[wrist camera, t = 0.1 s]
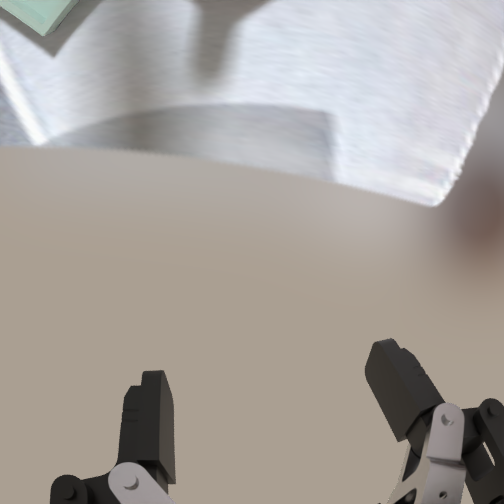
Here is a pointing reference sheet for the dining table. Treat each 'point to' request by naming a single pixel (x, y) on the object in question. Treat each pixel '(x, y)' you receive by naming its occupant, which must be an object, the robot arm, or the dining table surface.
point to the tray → (39, 12)
